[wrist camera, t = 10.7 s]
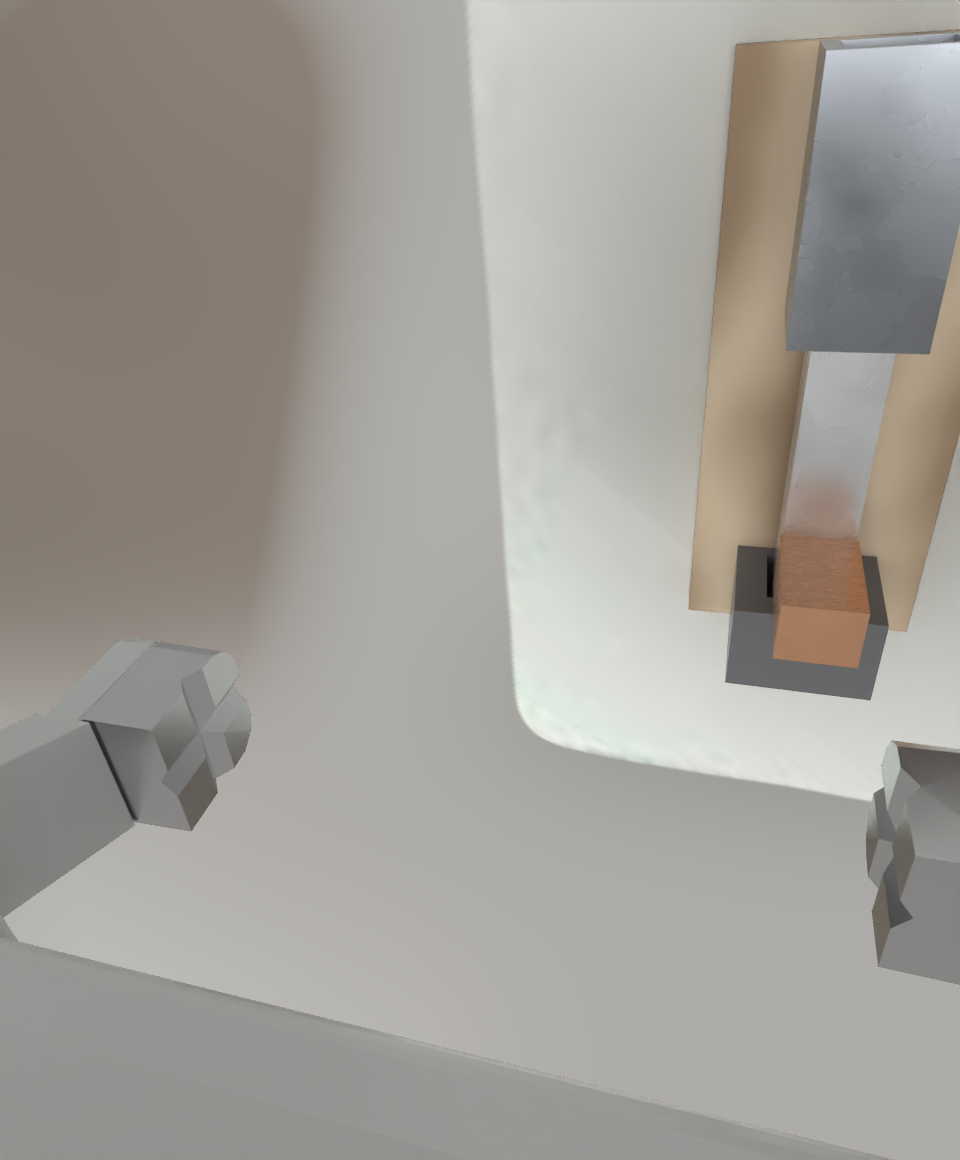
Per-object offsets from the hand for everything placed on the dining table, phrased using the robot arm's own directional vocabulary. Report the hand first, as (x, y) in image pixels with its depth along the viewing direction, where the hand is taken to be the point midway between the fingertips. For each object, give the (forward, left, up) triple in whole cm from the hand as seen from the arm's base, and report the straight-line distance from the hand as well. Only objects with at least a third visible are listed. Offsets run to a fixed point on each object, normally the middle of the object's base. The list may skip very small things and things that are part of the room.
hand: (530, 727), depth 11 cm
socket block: (-6, +17, -28) cm, 33 cm away
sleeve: (-6, -1, -28) cm, 29 cm away
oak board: (-6, +7, -29) cm, 30 cm away
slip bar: (-6, +10, -27) cm, 29 cm away
